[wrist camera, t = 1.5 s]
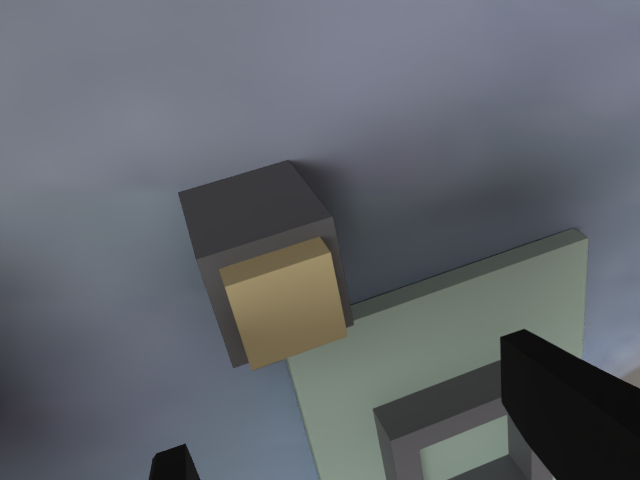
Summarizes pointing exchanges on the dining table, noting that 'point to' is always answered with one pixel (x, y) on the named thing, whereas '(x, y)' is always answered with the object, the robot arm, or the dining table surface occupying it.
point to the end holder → (439, 369)
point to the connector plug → (268, 264)
